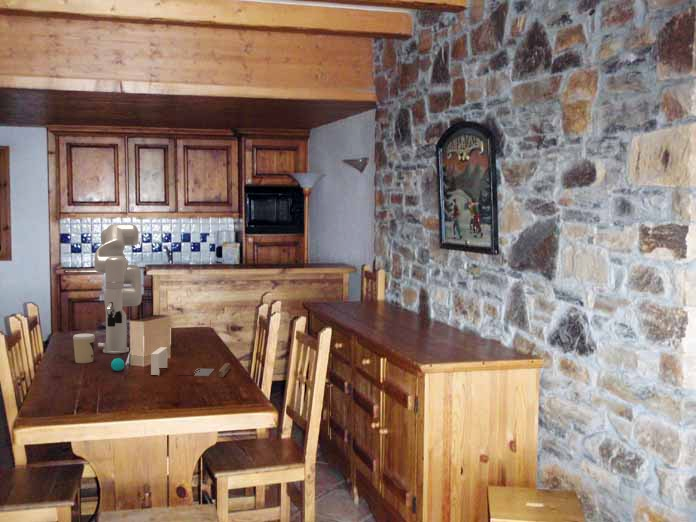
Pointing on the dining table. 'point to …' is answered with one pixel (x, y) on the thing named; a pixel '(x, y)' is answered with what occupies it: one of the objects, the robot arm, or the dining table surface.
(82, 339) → the coffee cup
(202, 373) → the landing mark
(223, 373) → the stopper wall
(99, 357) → the dining table surface
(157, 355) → the bridge
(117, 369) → the ball
